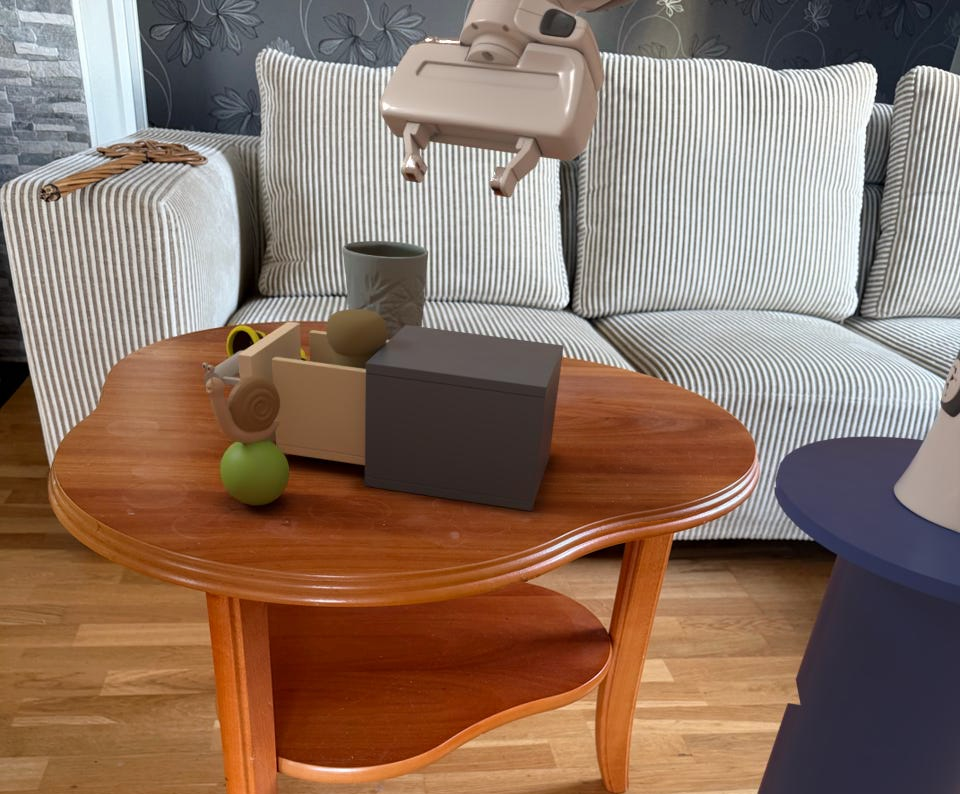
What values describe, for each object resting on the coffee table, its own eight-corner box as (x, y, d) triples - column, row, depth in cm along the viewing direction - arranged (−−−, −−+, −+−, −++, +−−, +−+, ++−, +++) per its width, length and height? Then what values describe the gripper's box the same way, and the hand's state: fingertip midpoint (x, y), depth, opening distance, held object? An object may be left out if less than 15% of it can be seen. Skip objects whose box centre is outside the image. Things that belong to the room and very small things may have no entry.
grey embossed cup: (422, 365, 109) (426, 259, 102) (338, 358, 108) (337, 252, 102) (425, 341, 117) (429, 243, 111) (347, 336, 117) (347, 236, 110)
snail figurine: (199, 502, 73) (183, 354, 67) (264, 483, 77) (256, 341, 71) (238, 526, 70) (226, 374, 64) (304, 504, 74) (299, 359, 68)
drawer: (197, 448, 80) (187, 347, 75) (249, 407, 90) (243, 315, 85) (393, 477, 78) (396, 376, 73) (424, 432, 88) (428, 340, 83)
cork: (358, 452, 78) (354, 322, 73) (312, 436, 82) (305, 309, 76) (406, 437, 82) (407, 312, 77) (360, 422, 86) (357, 300, 80)
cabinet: (364, 486, 78) (365, 362, 73) (401, 436, 89) (405, 324, 83) (531, 511, 77) (546, 387, 71) (549, 457, 87) (563, 345, 82)
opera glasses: (307, 392, 100) (314, 346, 98) (265, 390, 97) (271, 342, 94) (264, 368, 106) (269, 324, 104) (223, 365, 102) (227, 320, 100)
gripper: (400, 8, 82) (343, 147, 81) (605, 23, 74) (543, 177, 73) (428, 61, 88) (375, 191, 87) (621, 80, 80) (564, 223, 79)
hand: (453, 185), depth 80 cm, fingers open, 8 cm apart
